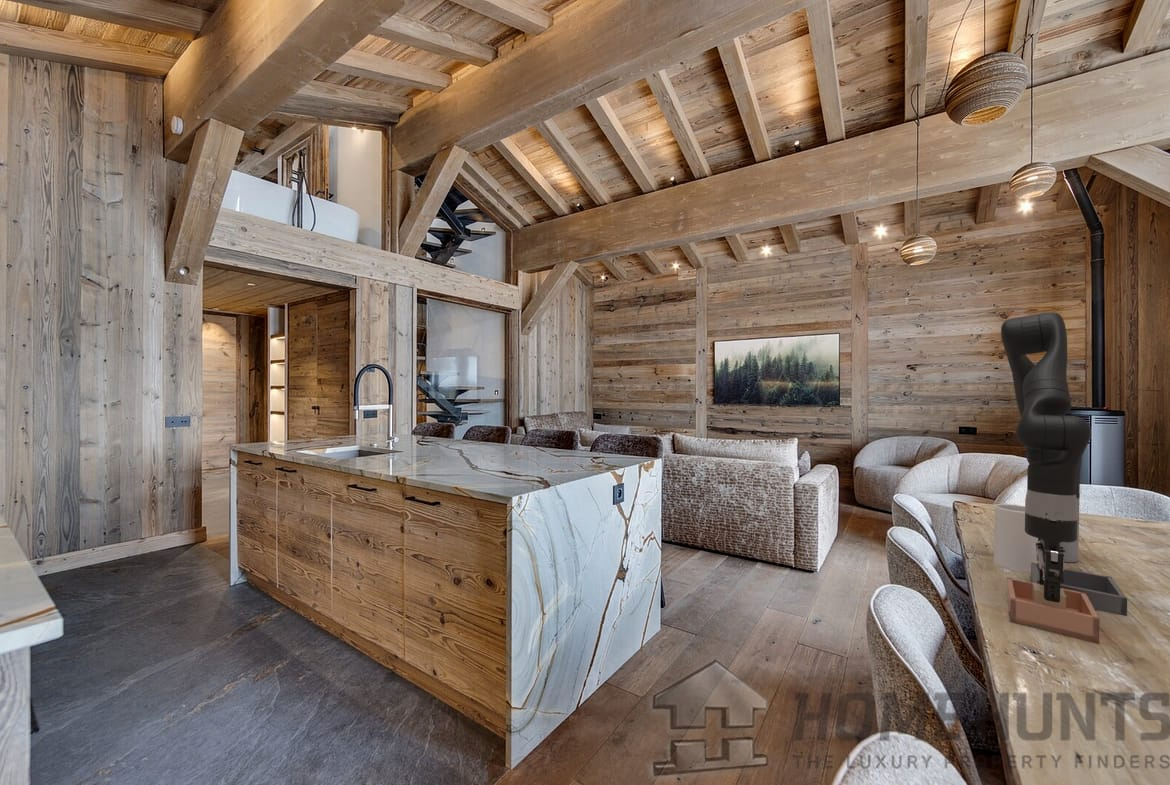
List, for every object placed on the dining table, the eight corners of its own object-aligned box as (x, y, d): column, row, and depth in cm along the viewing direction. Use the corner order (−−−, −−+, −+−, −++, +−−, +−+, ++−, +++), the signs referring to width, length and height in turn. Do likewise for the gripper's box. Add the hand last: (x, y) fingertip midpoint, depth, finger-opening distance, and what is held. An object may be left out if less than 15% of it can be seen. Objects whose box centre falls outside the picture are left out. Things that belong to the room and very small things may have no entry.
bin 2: (1030, 580, 112) (1031, 562, 112) (1111, 596, 104) (1111, 576, 104) (1036, 601, 102) (1037, 580, 102) (1126, 620, 93) (1127, 598, 93)
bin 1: (1006, 597, 103) (1006, 577, 103) (1085, 614, 96) (1085, 593, 96) (1010, 621, 93) (1010, 599, 93) (1099, 643, 85) (1099, 618, 85)
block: (1032, 605, 97) (1032, 583, 97) (1062, 612, 94) (1062, 589, 94) (1034, 613, 94) (1034, 590, 94) (1065, 620, 91) (1066, 596, 91)
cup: (1022, 577, 114) (1023, 513, 114) (985, 565, 122) (986, 504, 122) (1045, 574, 116) (1046, 510, 116) (1008, 562, 124) (1009, 502, 124)
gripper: (1022, 504, 102) (1020, 577, 102) (1028, 518, 91) (1026, 600, 91) (1071, 510, 97) (1070, 587, 97) (1084, 525, 86) (1082, 612, 86)
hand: (1049, 593), depth 94 cm, fingers open, 8 cm apart
